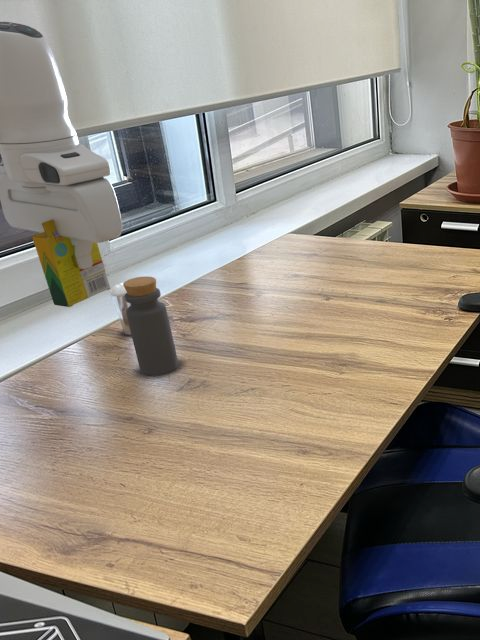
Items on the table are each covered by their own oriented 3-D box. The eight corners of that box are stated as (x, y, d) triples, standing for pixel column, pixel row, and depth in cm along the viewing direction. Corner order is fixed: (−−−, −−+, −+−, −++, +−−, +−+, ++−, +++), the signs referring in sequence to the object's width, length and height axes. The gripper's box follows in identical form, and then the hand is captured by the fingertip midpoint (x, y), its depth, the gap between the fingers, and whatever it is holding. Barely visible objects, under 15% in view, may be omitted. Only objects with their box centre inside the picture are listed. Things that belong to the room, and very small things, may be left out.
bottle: (184, 367, 115) (166, 280, 109) (149, 379, 112) (127, 290, 105) (169, 356, 119) (150, 272, 113) (134, 368, 115) (112, 281, 109)
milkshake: (133, 339, 126) (120, 286, 121) (115, 333, 128) (101, 281, 124) (155, 330, 129) (143, 278, 125) (137, 324, 132) (125, 273, 127)
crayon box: (96, 286, 101) (74, 206, 96) (111, 288, 100) (90, 207, 95) (52, 305, 95) (26, 220, 90) (68, 307, 94) (42, 222, 89)
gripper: (-28, 160, 92) (5, 262, 98) (71, 172, 83) (101, 283, 89) (19, 152, 97) (48, 249, 103) (117, 162, 88) (143, 268, 94)
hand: (73, 265), depth 96 cm, fingers closed on crayon box, 3 cm apart
